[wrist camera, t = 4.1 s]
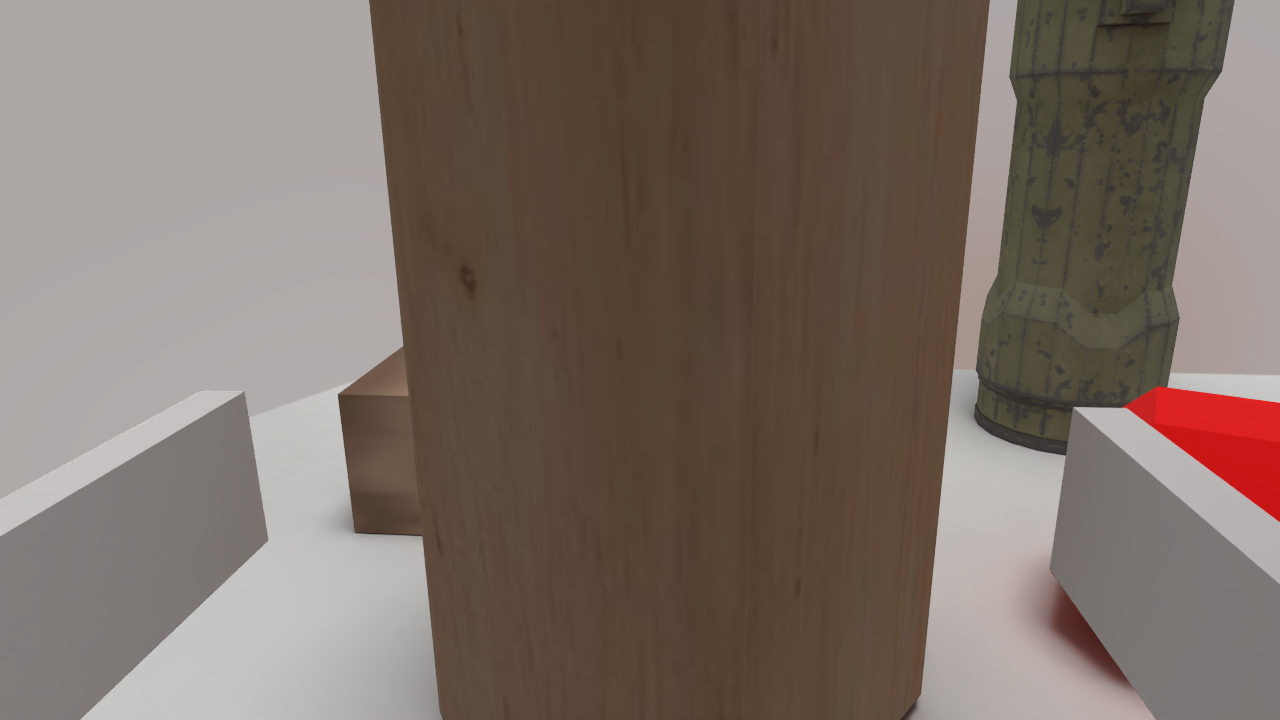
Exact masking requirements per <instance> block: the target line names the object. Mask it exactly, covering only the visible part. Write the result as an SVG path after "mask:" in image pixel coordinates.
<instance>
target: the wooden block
mask: <svg viewBox="0 0 1280 720" xmlns="http://www.w3.org/2000/svg"><path fill="white" fill-rule="evenodd" d="M989 2H990V0H369V3H370V13H371V23H372V33H373V43H374V53H375V62H376V63H375V64H376V74H377V83H378V94H379V104H380V114H381V124H382V133H383V143H384V154H385V164H386V174H387V184H388V194H389V204H390V214H391V225H392V233H393V244H394V254H395V265H396V275H397V285H398V295H399V304H400V315H401V325H402V334H403V345H404V355H405V365H406V375H407V385H408V396H409V406H410V416H411V426H412V436H413V446H414V456H415V466H416V476H417V486H418V496H419V506H420V516H421V526H422V536H423V546H424V556H425V567H426V577H427V587H428V597H429V607H430V617H431V627H432V637H433V647H434V657H435V667H436V677H437V687H438V697H439V707H440V713H441V716H442V718H443V720H901V719H902V717H903V716H904V715H905V714H906V713H907V711H908V710H909V709H910V708H911V706H912V705H913V704H914V703H915V701H916V700H917V699H918V697H919V696H920V695H921V687H922V677H923V667H924V657H925V646H926V636H927V626H928V616H929V606H930V596H931V586H932V576H933V566H934V556H935V546H936V536H937V526H938V516H939V506H940V496H941V486H942V476H943V466H944V455H945V445H946V435H947V425H948V415H949V405H950V395H951V385H952V375H953V365H954V355H955V345H956V334H957V325H958V314H959V305H960V304H959V303H960V295H961V284H962V275H963V265H964V254H965V244H966V234H967V224H968V214H969V204H970V194H971V184H972V174H973V163H974V154H975V143H976V133H977V124H978V113H979V104H980V94H981V83H982V74H983V63H984V53H985V43H986V32H987V23H988V12H989Z"/></svg>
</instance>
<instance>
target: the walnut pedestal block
mask: <svg viewBox="0 0 1280 720" xmlns="http://www.w3.org/2000/svg"><path fill="white" fill-rule="evenodd" d="M338 400H339V408H340V416H341V424H342V432H343V440H344V448H345V456H346V464H347V472H348V480H349V488H350V496H351V504H352V512H353V520H354V528H355V532H357V533H383V534H408V535H422V526H421V516H420V506H419V496H418V486H417V476H416V466H415V456H414V446H413V436H412V426H411V416H410V406H409V396H408V385H407V375H406V365H405V355H404V346H403V347H402V348H400V349H399V350H398V351H396V352H395V353H394V354H392V355H391V356H389V357H388V358H387V359H386V360H384V361H383V362H381V363H380V364H378V365H377V366H376V367H374V368H373V369H372V370H370V371H369V372H368V373H366V374H365V375H364V376H362V377H361V378H359V379H358V380H357V381H355V382H354V383H353V384H351V385H350V386H349V387H347V388H346V389H344V390H343V391H342V392H340V393H339V394H338Z"/></svg>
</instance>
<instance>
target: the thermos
mask: <svg viewBox="0 0 1280 720" xmlns="http://www.w3.org/2000/svg"><path fill="white" fill-rule="evenodd" d="M1233 6H1234V0H1018V3H1017V12H1016V22H1015V30H1014V40H1013V49H1012V59H1011V67H1010V76H1009V77H1010V80H1011V83H1012V86H1013V89H1014V93H1015V96H1016V99H1017V108H1016V116H1015V126H1014V134H1013V144H1012V151H1011V160H1010V169H1009V178H1008V187H1007V197H1006V205H1005V214H1004V223H1003V231H1002V240H1001V250H1000V258H999V267H998V275H997V277H996V279H995V281H994V283H993V285H992V287H991V289H990V291H989V293H988V295H987V299H986V303H985V307H984V311H983V315H982V320H981V329H980V338H979V348H978V356H977V366H976V371H977V373H978V378H979V380H980V381H979V390H978V399H977V403H976V405H975V413H974V417H975V419H976V421H977V422H978V424H979V425H980V426H981V427H983V428H984V429H985V430H987V431H988V432H990V433H991V434H993V435H995V436H998V437H1000V438H1002V439H1005V440H1007V441H1009V442H1012V443H1015V444H1018V445H1022V446H1026V447H1029V448H1033V449H1037V450H1041V451H1047V452H1053V453H1059V454H1065V455H1066V453H1067V446H1068V439H1069V432H1070V425H1071V418H1072V411H1073V407H1094V408H1122V407H1124V406H1125V405H1127V404H1129V403H1130V402H1132V401H1134V400H1135V399H1137V398H1139V397H1141V396H1142V395H1144V394H1146V393H1147V392H1149V391H1151V390H1152V389H1154V388H1156V387H1157V386H1159V387H1166V388H1167V386H1168V380H1169V375H1170V369H1171V364H1172V358H1173V352H1174V347H1175V341H1176V336H1177V330H1178V325H1179V319H1180V318H1179V313H1178V309H1177V305H1176V300H1175V296H1174V292H1173V288H1172V281H1173V276H1174V270H1175V264H1176V259H1177V253H1178V247H1179V242H1180V235H1181V230H1182V224H1183V219H1184V213H1185V207H1186V202H1187V196H1188V190H1189V184H1190V178H1191V173H1192V166H1193V161H1194V156H1195V150H1196V144H1197V138H1198V133H1199V127H1200V121H1201V115H1202V110H1203V104H1204V98H1205V96H1206V95H1207V93H1208V92H1209V90H1210V89H1211V87H1212V85H1213V84H1214V82H1215V81H1216V79H1217V78H1218V76H1219V75H1220V73H1221V72H1222V68H1223V62H1224V56H1225V51H1226V45H1227V40H1228V34H1229V29H1230V23H1231V17H1232V11H1233Z"/></svg>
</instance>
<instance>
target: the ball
mask: <svg viewBox="0 0 1280 720" xmlns="http://www.w3.org/2000/svg"><path fill="white" fill-rule="evenodd" d="M1122 408H1127V409H1128V410H1130V411H1131V412H1132V413H1134V414H1135V415H1137V416H1138V417H1139V418H1141V419H1142V420H1143V421H1145V422H1146V423H1147V424H1149V425H1150V426H1151V427H1153V428H1154V429H1155V430H1157V431H1158V432H1159V433H1161V434H1162V435H1163V436H1165V437H1166V438H1167V439H1169V440H1170V441H1171V442H1173V443H1174V444H1175V445H1177V446H1178V447H1179V448H1181V449H1182V450H1183V451H1185V452H1186V453H1187V454H1189V455H1190V456H1191V457H1193V458H1194V459H1196V460H1197V461H1198V462H1200V463H1201V464H1202V465H1204V466H1205V467H1206V468H1208V469H1209V470H1210V471H1212V472H1213V473H1214V474H1216V475H1217V476H1218V477H1220V478H1221V479H1222V480H1224V481H1225V482H1226V483H1228V484H1229V485H1230V486H1232V487H1233V488H1234V489H1236V490H1237V491H1238V492H1240V493H1241V494H1242V495H1244V496H1245V497H1246V498H1248V499H1249V500H1250V501H1252V502H1253V503H1255V504H1256V505H1257V506H1259V507H1260V508H1261V509H1263V510H1264V511H1265V512H1267V513H1268V514H1269V515H1271V516H1272V517H1273V518H1275V519H1276V520H1277V521H1279V522H1280V403H1277V402H1269V401H1262V400H1255V399H1247V398H1240V397H1233V396H1225V395H1218V394H1210V393H1203V392H1196V391H1188V390H1181V389H1173V388H1166V387H1159V386H1157V387H1156V388H1154V389H1152V390H1151V391H1149V392H1147V393H1146V394H1144V395H1142V396H1141V397H1139V398H1137V399H1135V400H1134V401H1132V402H1130V403H1129V404H1127V405H1125V406H1124V407H1122ZM1051 573H1052V572H1051ZM1052 574H1053V573H1052ZM1054 577H1055V576H1054ZM1055 578H1056V577H1055Z"/></svg>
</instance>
